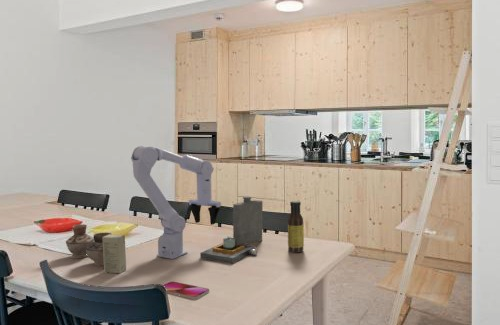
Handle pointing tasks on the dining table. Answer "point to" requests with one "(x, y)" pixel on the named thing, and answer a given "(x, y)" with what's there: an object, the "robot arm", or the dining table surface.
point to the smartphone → (185, 290)
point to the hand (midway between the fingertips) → (205, 223)
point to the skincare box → (114, 253)
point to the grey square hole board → (228, 253)
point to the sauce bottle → (295, 228)
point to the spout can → (229, 243)
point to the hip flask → (247, 221)
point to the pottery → (86, 244)
